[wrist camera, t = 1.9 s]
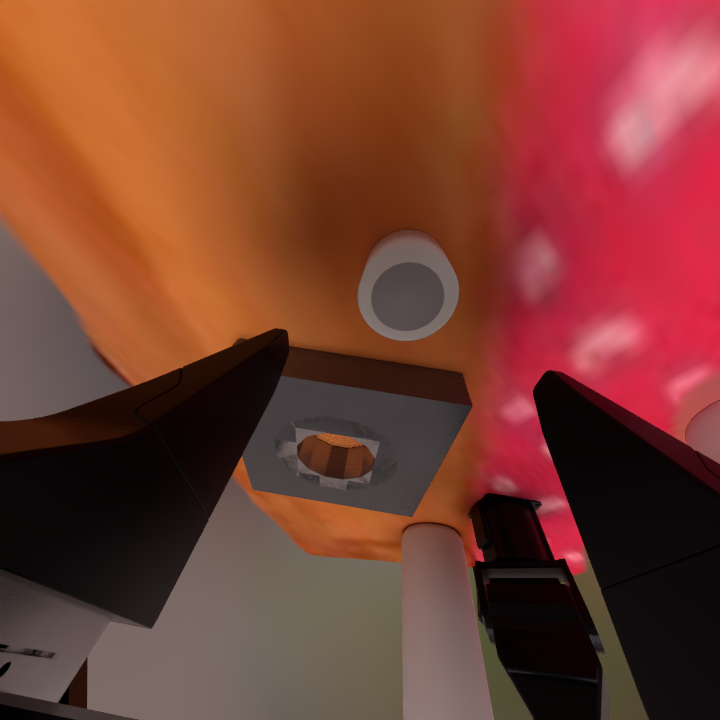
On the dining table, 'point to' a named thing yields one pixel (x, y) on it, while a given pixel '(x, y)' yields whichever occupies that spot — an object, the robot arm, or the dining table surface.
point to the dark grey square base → (356, 430)
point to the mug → (705, 432)
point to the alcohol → (440, 630)
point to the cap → (407, 286)
